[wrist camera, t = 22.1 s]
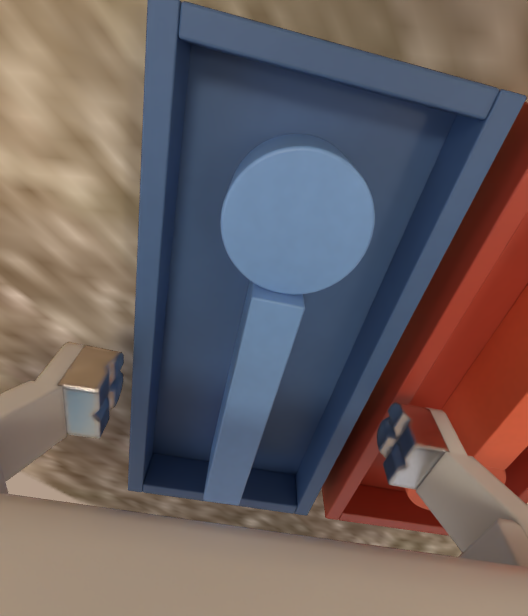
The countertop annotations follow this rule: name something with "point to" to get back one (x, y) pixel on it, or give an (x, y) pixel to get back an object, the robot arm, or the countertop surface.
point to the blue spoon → (280, 278)
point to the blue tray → (234, 285)
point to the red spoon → (494, 398)
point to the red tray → (444, 342)
